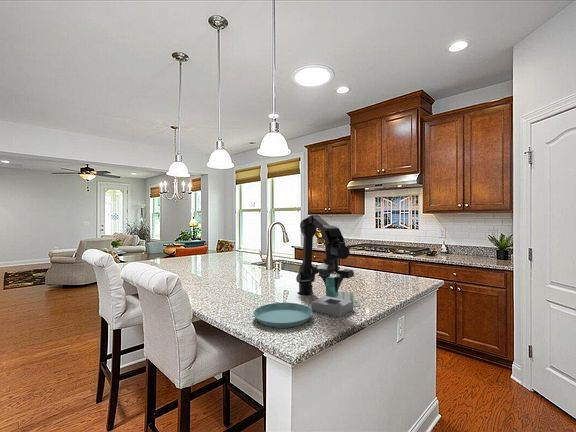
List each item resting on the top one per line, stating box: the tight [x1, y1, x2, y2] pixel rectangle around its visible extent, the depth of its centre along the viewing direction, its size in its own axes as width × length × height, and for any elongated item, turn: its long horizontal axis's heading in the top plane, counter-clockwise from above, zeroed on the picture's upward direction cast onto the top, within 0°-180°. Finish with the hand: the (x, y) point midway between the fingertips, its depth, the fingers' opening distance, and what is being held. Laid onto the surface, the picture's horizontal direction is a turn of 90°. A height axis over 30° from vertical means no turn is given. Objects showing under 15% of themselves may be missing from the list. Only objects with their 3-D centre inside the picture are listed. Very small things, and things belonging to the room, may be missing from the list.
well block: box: [311, 295, 354, 318], centre depth 132 cm, size 14×12×4 cm
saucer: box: [253, 302, 314, 329], centre depth 123 cm, size 24×24×3 cm
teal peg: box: [325, 275, 339, 298], centre depth 132 cm, size 4×4×8 cm
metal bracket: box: [335, 291, 361, 308], centre depth 144 cm, size 14×6×15 cm
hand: (332, 291), depth 132 cm, fingers closed on teal peg, 4 cm apart
